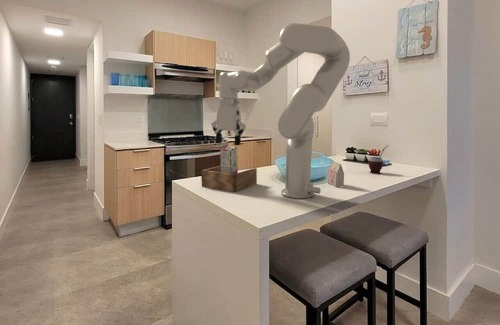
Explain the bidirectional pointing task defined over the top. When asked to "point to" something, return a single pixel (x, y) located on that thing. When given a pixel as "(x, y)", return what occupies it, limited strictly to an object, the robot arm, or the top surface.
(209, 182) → the walnut crate
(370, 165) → the mate gourd
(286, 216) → the top surface
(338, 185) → the toy house
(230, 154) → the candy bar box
